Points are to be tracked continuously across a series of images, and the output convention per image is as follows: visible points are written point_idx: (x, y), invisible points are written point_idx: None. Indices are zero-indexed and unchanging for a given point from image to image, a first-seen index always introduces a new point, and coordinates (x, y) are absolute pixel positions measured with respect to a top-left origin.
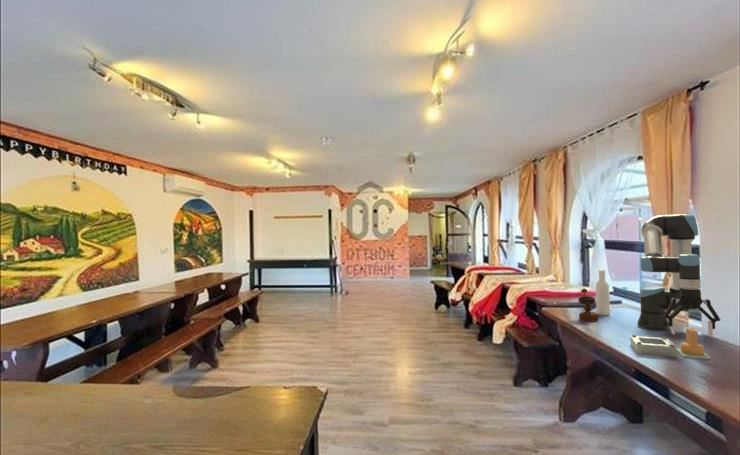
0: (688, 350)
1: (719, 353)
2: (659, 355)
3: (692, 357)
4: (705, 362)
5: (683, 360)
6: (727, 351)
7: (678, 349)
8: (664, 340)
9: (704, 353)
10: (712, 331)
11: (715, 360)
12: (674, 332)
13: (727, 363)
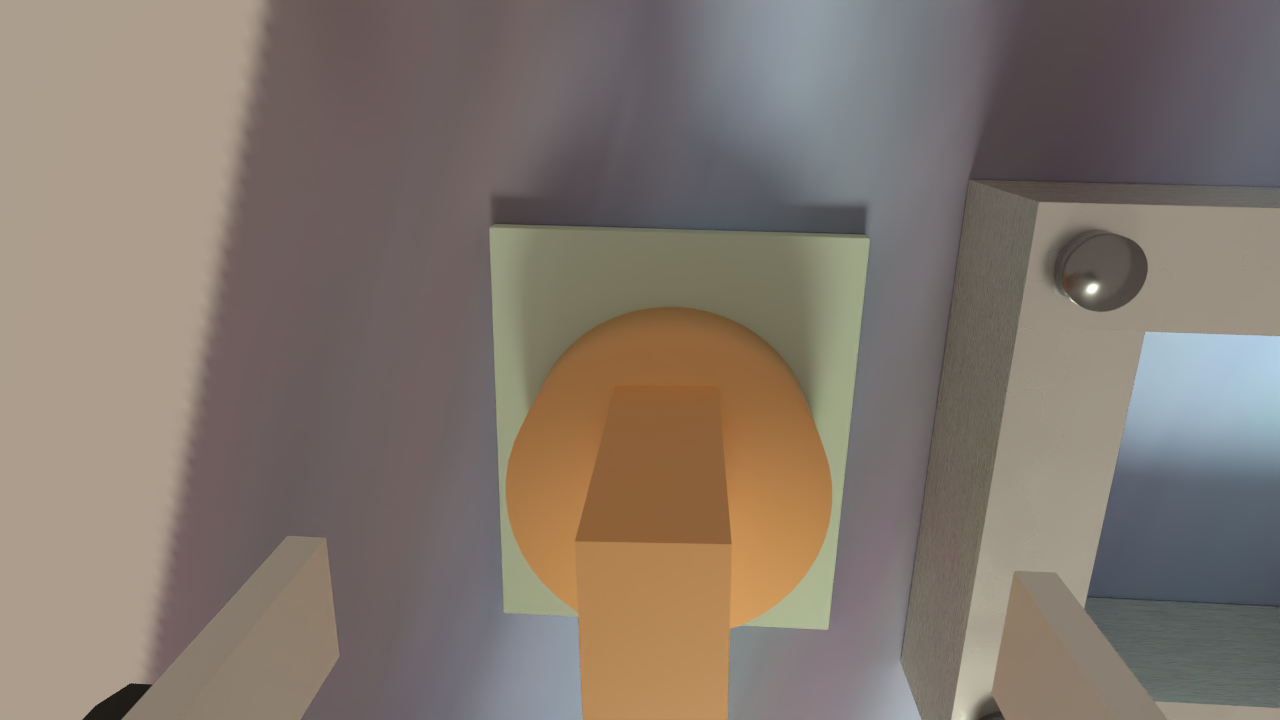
0: (760, 351)
1: None
2: (1220, 188)
3: (733, 231)
4: (623, 10)
5: (930, 13)
6: None
7: None
8: None
9: None
10: (218, 615)
11: (449, 186)
12: (1044, 599)
13: (325, 69)
